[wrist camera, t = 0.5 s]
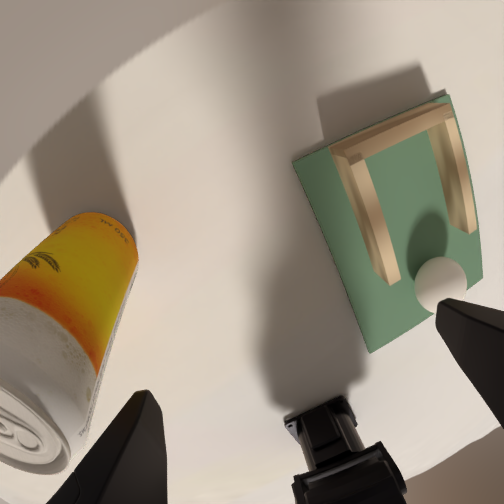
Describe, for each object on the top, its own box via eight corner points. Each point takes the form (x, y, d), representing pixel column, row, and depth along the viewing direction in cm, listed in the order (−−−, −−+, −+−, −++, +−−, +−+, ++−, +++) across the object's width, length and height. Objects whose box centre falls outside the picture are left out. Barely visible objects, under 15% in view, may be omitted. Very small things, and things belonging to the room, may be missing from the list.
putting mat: (480, 276, 27) (482, 278, 26) (368, 351, 27) (369, 353, 27) (446, 94, 19) (449, 94, 19) (291, 162, 20) (293, 163, 20)
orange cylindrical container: (70, 195, 18) (-89, 318, 5) (153, 229, 20) (91, 416, 6) (51, 273, 20) (-56, 432, 6) (125, 304, 22) (76, 496, 8)
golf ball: (447, 280, 25) (478, 304, 21) (409, 306, 25) (437, 334, 21) (440, 238, 24) (476, 260, 19) (399, 264, 24) (431, 291, 20)
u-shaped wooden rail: (457, 219, 23) (477, 228, 21) (373, 271, 23) (389, 286, 21) (428, 102, 19) (449, 103, 17) (327, 146, 20) (343, 150, 17)
